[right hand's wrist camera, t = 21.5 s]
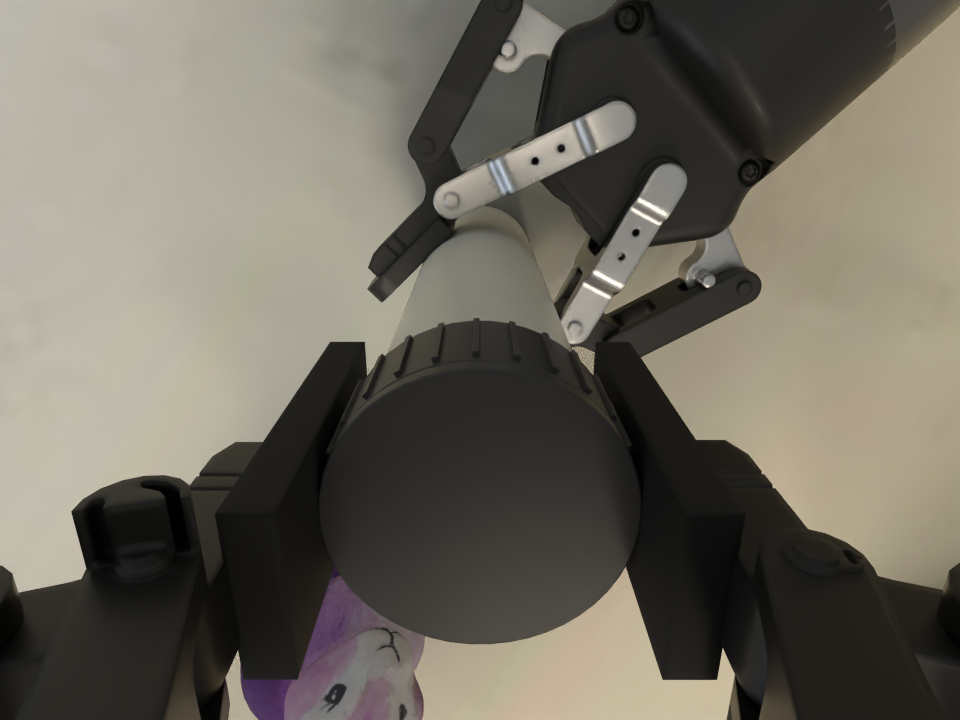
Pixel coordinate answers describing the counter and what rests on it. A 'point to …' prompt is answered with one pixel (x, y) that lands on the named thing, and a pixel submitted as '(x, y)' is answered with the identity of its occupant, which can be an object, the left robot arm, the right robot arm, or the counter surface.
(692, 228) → the left robot arm
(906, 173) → the counter surface
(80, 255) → the counter surface
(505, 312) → the jar
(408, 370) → the lid
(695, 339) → the counter surface
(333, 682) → the figurine
